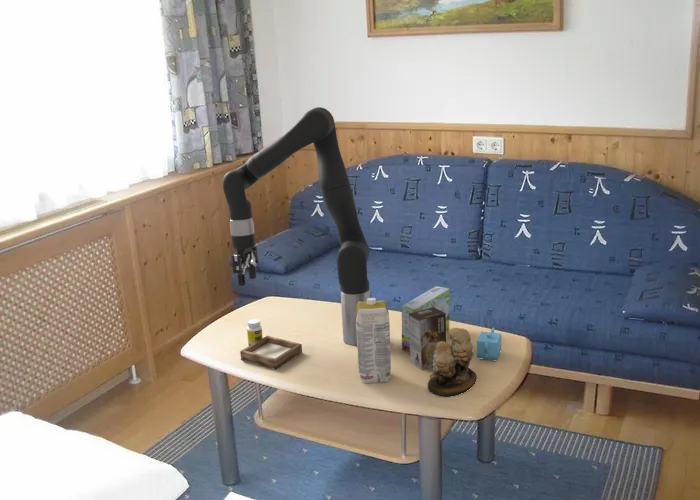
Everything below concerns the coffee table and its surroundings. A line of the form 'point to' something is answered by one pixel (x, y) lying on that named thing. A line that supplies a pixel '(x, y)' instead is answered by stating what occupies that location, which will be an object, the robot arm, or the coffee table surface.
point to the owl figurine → (452, 365)
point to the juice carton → (373, 341)
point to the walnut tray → (271, 352)
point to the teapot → (489, 345)
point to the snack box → (429, 299)
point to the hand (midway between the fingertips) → (247, 281)
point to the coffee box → (426, 335)
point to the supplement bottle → (254, 331)
